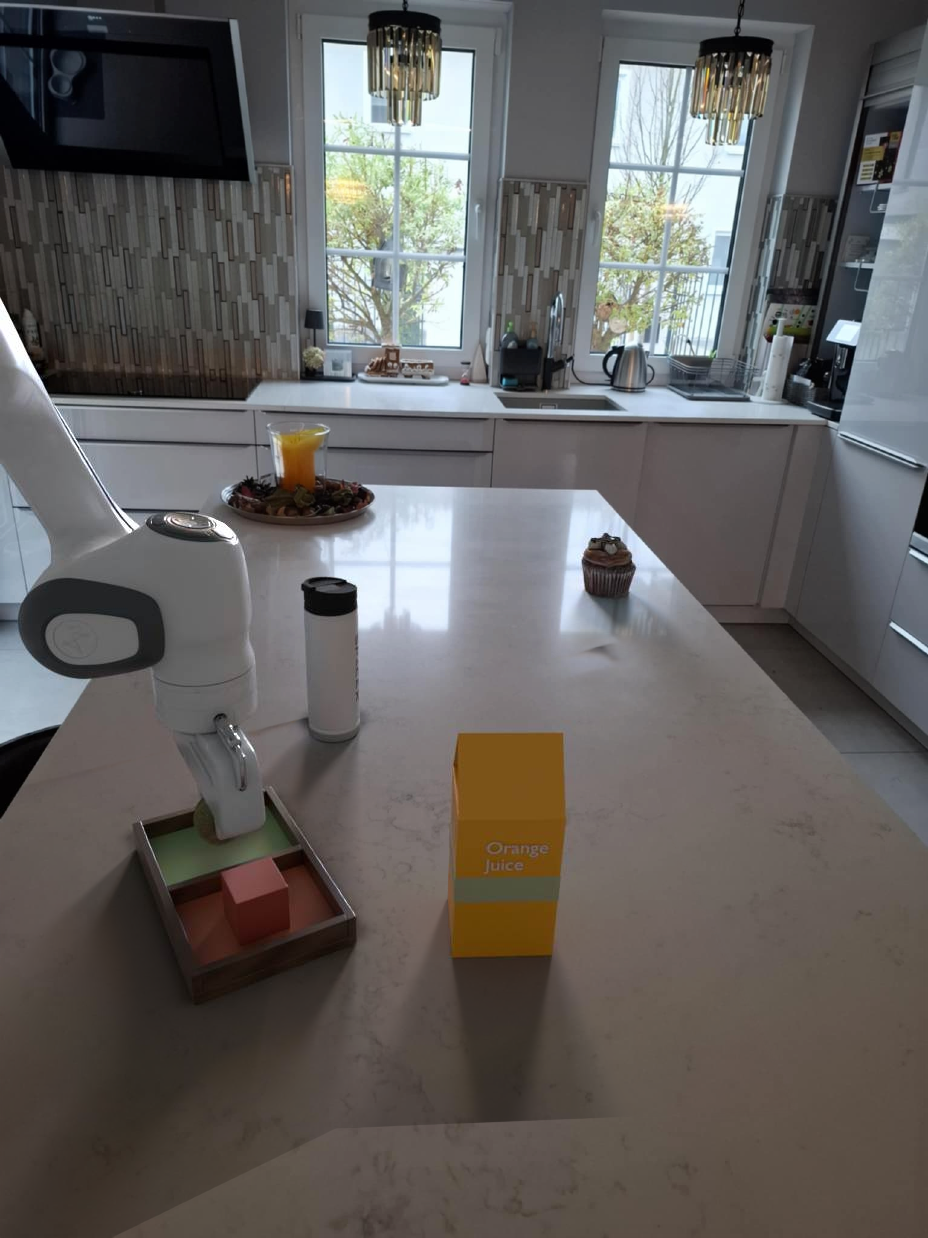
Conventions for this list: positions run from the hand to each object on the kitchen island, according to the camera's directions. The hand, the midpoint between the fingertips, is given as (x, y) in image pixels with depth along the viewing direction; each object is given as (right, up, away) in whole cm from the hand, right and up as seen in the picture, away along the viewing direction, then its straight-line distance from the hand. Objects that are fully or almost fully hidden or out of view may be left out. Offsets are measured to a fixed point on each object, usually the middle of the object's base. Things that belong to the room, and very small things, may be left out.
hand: (218, 820), depth 83 cm
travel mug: (+7, +5, +25) cm, 26 cm away
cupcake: (+49, +24, +72) cm, 91 cm away
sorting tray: (+3, -6, -2) cm, 7 cm away
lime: (0, -2, 0) cm, 2 cm away
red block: (+5, -7, -7) cm, 11 cm away
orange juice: (+27, -8, -5) cm, 28 cm away
